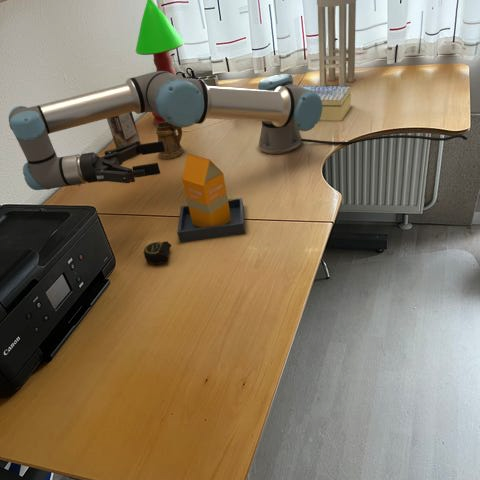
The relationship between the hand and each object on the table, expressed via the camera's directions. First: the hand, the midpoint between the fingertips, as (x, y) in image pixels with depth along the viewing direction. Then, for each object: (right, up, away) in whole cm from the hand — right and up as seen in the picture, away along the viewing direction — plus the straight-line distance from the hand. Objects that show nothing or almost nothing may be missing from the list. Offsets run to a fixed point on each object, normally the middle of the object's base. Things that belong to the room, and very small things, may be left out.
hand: (161, 156), depth 126 cm
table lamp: (-7, +45, +83) cm, 95 cm away
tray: (+13, -15, +14) cm, 24 cm away
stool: (+64, +62, +87) cm, 124 cm away
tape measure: (-1, -26, +5) cm, 27 cm away
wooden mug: (-3, +20, +55) cm, 59 cm away
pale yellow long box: (+42, +41, +69) cm, 91 cm away
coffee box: (-22, +23, +63) cm, 70 cm away
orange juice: (+13, -15, +14) cm, 24 cm away
